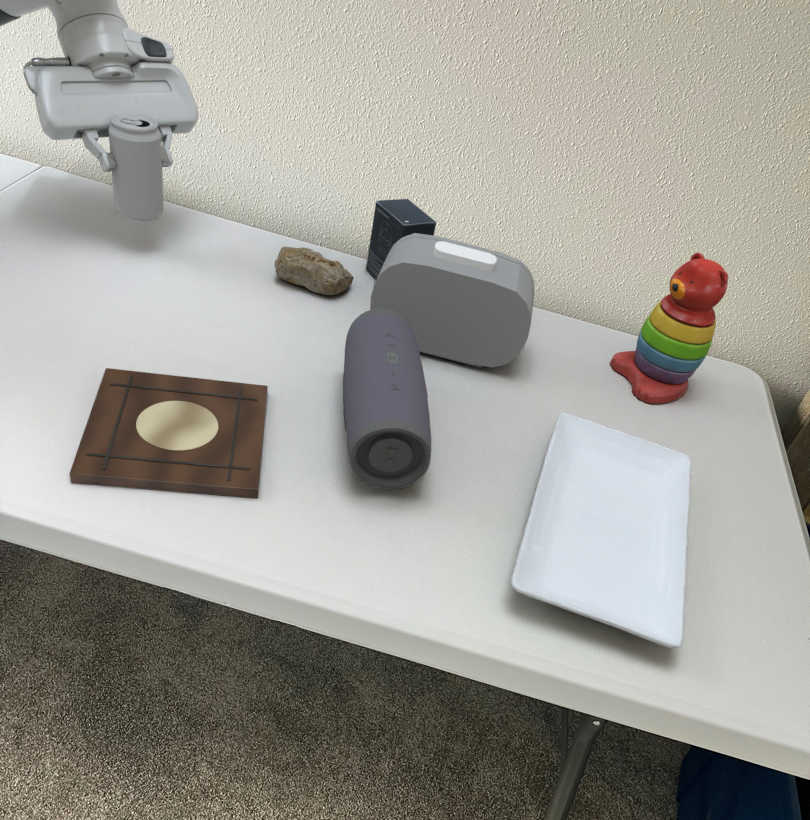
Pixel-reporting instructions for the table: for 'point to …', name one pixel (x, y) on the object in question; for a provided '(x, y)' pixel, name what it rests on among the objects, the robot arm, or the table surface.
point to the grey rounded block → (458, 298)
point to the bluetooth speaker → (385, 401)
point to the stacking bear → (675, 333)
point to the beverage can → (136, 167)
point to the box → (394, 229)
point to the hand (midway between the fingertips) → (139, 167)
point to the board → (173, 434)
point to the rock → (312, 271)
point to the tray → (609, 531)
